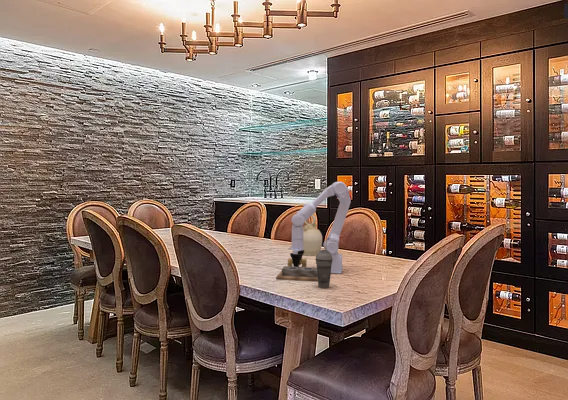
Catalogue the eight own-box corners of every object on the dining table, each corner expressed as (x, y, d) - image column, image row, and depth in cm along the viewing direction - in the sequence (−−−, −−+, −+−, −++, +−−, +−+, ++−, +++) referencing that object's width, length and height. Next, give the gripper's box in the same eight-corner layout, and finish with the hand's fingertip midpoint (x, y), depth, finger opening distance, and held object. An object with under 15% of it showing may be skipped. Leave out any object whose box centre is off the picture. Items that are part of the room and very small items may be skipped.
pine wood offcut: (306, 271, 210) (306, 259, 209) (306, 272, 207) (306, 260, 206) (288, 270, 211) (288, 258, 211) (287, 271, 208) (287, 259, 208)
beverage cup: (321, 283, 184) (322, 237, 183) (335, 286, 179) (336, 239, 178) (311, 286, 178) (312, 239, 177) (326, 289, 174) (326, 240, 173)
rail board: (323, 274, 202) (323, 266, 202) (320, 281, 188) (320, 272, 188) (281, 272, 205) (281, 264, 205) (275, 279, 191) (276, 270, 191)
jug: (309, 251, 271) (310, 211, 270) (327, 254, 260) (328, 213, 258) (291, 253, 262) (292, 212, 260) (309, 257, 250) (309, 214, 249)
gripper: (291, 236, 216) (291, 263, 217) (287, 240, 202) (286, 269, 202) (305, 237, 215) (305, 264, 215) (301, 241, 201) (301, 269, 201)
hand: (297, 266), depth 209 cm, fingers open, 7 cm apart
